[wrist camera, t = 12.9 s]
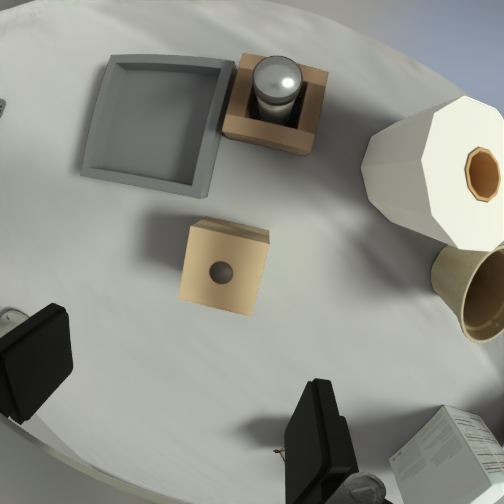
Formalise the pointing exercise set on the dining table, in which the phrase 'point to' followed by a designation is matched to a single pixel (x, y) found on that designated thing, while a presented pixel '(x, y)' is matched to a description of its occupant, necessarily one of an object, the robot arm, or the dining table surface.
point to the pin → (276, 88)
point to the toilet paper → (442, 174)
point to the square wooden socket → (268, 133)
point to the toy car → (2, 106)
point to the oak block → (224, 265)
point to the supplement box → (450, 462)
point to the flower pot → (472, 289)
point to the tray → (159, 122)
